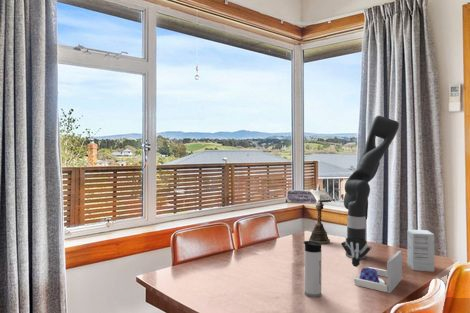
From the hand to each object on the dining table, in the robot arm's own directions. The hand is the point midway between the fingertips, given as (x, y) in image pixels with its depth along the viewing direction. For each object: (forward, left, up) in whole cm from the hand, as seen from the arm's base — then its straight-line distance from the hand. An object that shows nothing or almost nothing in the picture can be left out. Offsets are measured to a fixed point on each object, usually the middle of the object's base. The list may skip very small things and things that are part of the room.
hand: (355, 266), depth 152 cm
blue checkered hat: (+6, -2, -5) cm, 8 cm away
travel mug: (-7, -28, -5) cm, 29 cm away
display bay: (+9, 0, -5) cm, 11 cm away
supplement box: (+20, +30, -5) cm, 36 cm away
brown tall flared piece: (-35, +45, -5) cm, 57 cm away
